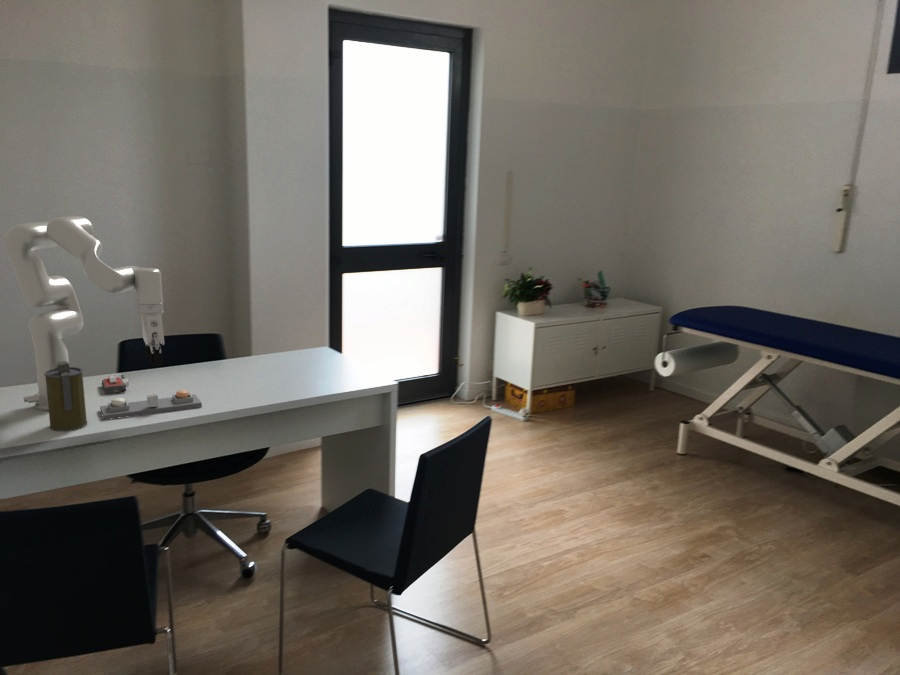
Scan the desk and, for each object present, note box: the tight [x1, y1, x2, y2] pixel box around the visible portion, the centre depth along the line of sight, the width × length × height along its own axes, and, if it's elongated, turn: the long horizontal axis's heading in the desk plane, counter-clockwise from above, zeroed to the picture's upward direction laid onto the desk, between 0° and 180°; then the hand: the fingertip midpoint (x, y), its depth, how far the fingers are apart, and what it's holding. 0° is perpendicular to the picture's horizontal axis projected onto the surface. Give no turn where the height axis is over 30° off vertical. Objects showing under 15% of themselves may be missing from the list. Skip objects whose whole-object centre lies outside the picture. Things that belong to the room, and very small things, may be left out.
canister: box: [44, 361, 88, 432], centre depth 224 cm, size 11×10×20 cm
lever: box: [146, 393, 159, 407], centre depth 241 cm, size 2×3×4 cm, turn 121°
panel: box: [99, 392, 203, 420], centre depth 244 cm, size 30×10×3 cm, turn 121°
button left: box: [110, 397, 126, 407], centre depth 238 cm, size 4×4×2 cm
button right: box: [175, 389, 190, 399], centre depth 248 cm, size 4×4×2 cm
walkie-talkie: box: [101, 374, 130, 395], centre depth 266 cm, size 9×4×20 cm
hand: (154, 361), depth 231 cm, fingers open, 9 cm apart
